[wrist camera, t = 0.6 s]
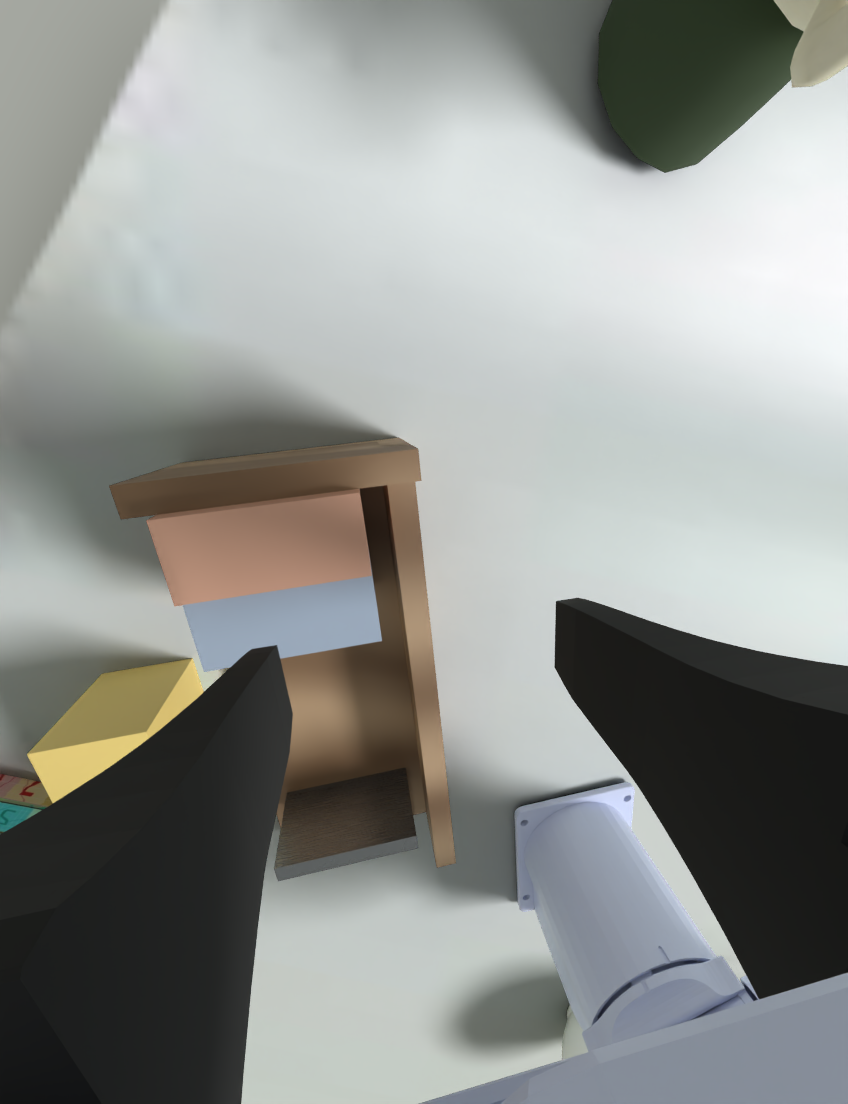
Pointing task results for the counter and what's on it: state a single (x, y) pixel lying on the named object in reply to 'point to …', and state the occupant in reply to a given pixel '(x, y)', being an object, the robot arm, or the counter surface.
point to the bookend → (345, 824)
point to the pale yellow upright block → (112, 722)
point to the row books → (271, 575)
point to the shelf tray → (357, 671)
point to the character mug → (709, 67)
